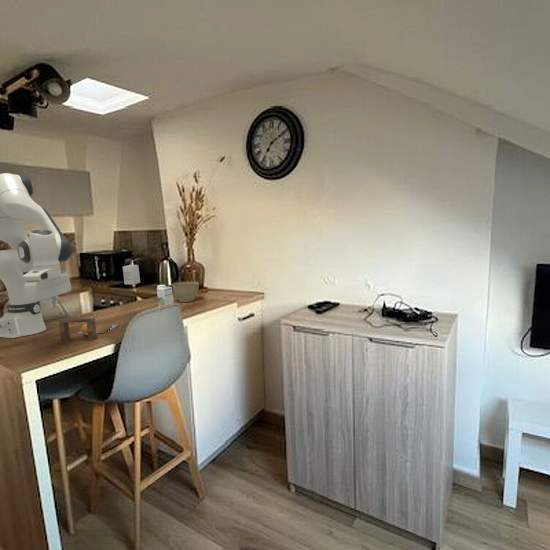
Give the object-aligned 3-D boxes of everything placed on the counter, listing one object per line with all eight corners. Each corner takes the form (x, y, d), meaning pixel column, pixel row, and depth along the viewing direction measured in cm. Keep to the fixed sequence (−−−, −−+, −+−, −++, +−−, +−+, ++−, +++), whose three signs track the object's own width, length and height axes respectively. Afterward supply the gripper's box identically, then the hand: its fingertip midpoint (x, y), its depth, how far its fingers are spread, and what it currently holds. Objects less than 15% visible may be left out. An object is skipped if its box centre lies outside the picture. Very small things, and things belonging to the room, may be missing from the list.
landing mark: (76, 333, 163) (76, 333, 163) (93, 325, 176) (93, 325, 176) (103, 333, 162) (103, 333, 162) (118, 325, 175) (118, 324, 175)
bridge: (93, 340, 153) (90, 319, 152) (61, 340, 155) (58, 319, 153) (97, 338, 156) (94, 317, 155) (66, 338, 158) (63, 317, 156)
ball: (77, 332, 157) (81, 320, 160) (83, 337, 161) (87, 325, 164) (89, 332, 156) (93, 321, 159) (95, 337, 161) (99, 326, 164)
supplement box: (131, 282, 304) (129, 264, 302) (140, 282, 301) (138, 264, 299) (124, 284, 296) (122, 266, 293) (133, 284, 293) (131, 266, 290)
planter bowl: (197, 303, 216) (195, 285, 214) (170, 304, 216) (168, 286, 214) (202, 297, 232) (201, 280, 230) (177, 298, 232) (175, 281, 230)
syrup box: (174, 313, 194) (172, 286, 192) (165, 315, 189) (163, 288, 187) (167, 312, 197) (165, 285, 195) (158, 314, 192) (156, 287, 190)
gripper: (58, 269, 148) (63, 302, 151) (18, 277, 128) (24, 314, 130) (73, 268, 148) (77, 301, 150) (35, 276, 128) (40, 314, 130)
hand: (52, 308), depth 140 cm, fingers closed
